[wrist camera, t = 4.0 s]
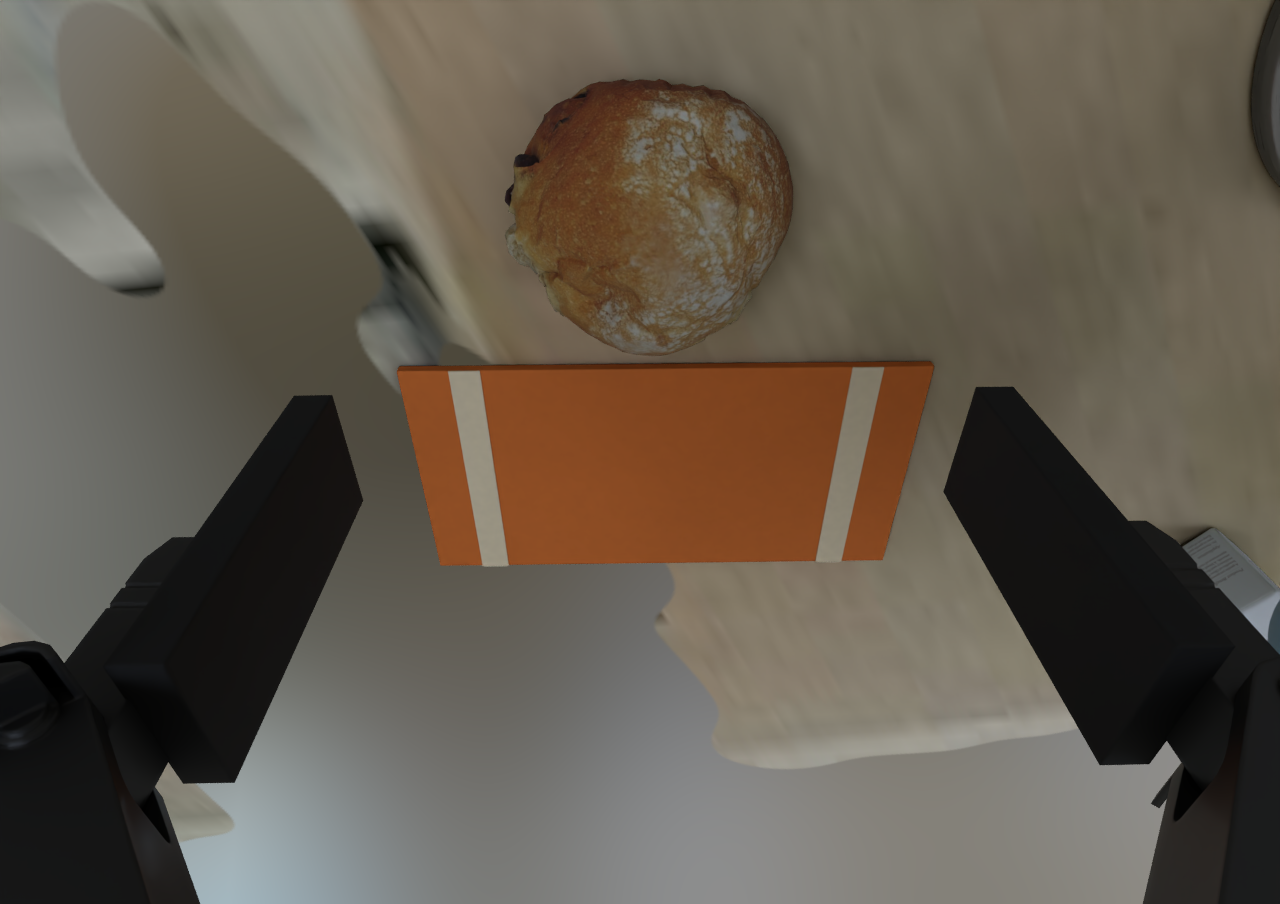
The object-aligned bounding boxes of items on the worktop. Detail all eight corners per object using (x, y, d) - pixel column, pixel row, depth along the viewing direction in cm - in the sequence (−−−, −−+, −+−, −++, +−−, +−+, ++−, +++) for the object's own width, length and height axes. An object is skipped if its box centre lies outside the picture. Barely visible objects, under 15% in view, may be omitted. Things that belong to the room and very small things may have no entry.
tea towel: (398, 365, 32) (395, 372, 32) (931, 360, 33) (935, 367, 32) (442, 559, 39) (440, 567, 39) (880, 554, 40) (883, 561, 39)
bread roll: (673, 304, 35) (761, 403, 30) (465, 281, 29) (528, 398, 24) (759, 89, 29) (885, 164, 24) (523, 11, 24) (621, 87, 19)
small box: (1168, 623, 43) (1223, 693, 39) (1115, 583, 41) (1167, 652, 37) (1263, 568, 41) (1332, 637, 37) (1211, 522, 39) (1279, 590, 35)
